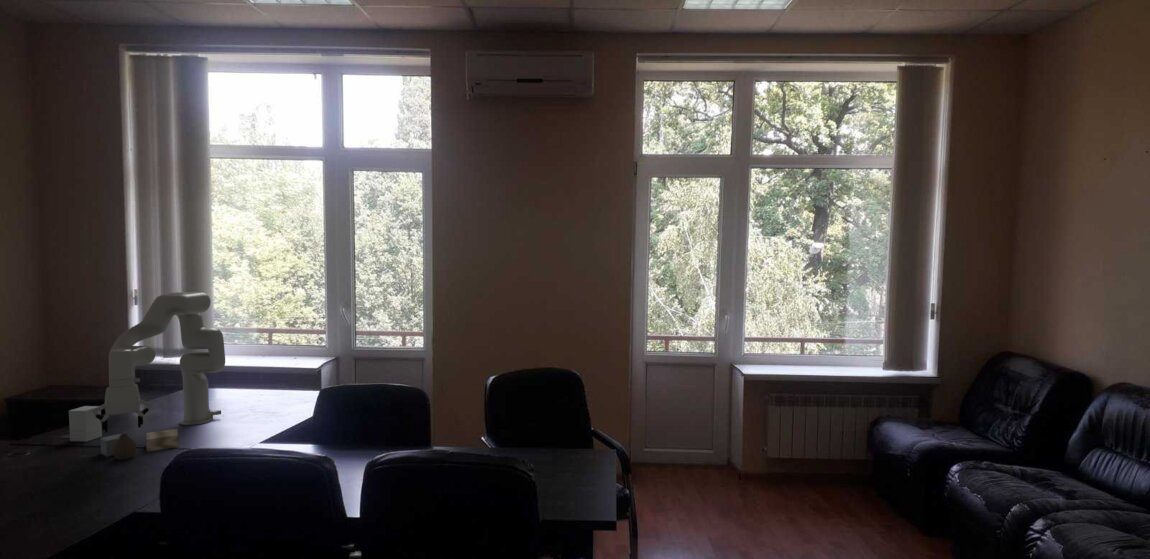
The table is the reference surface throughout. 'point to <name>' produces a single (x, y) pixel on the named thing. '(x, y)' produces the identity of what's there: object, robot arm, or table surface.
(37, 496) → the table surface
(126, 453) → the vase
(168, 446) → the birch block
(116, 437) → the slate block
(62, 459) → the table surface
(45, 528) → the table surface
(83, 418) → the supplement box
